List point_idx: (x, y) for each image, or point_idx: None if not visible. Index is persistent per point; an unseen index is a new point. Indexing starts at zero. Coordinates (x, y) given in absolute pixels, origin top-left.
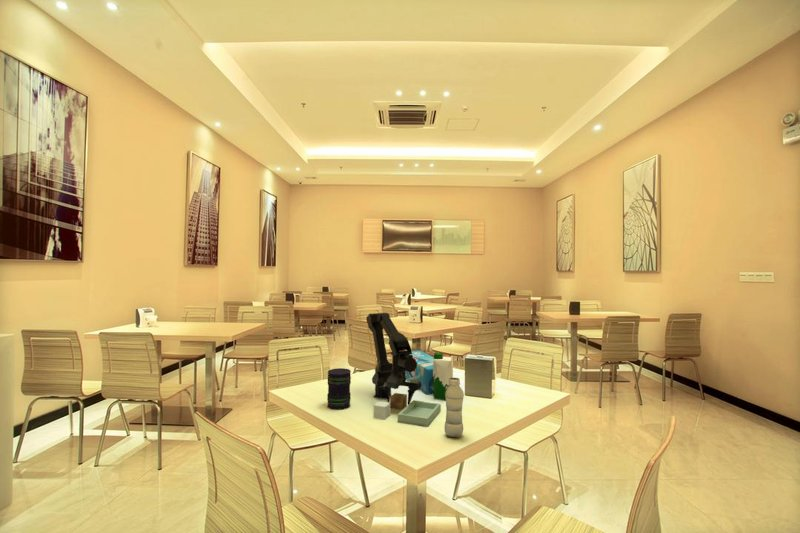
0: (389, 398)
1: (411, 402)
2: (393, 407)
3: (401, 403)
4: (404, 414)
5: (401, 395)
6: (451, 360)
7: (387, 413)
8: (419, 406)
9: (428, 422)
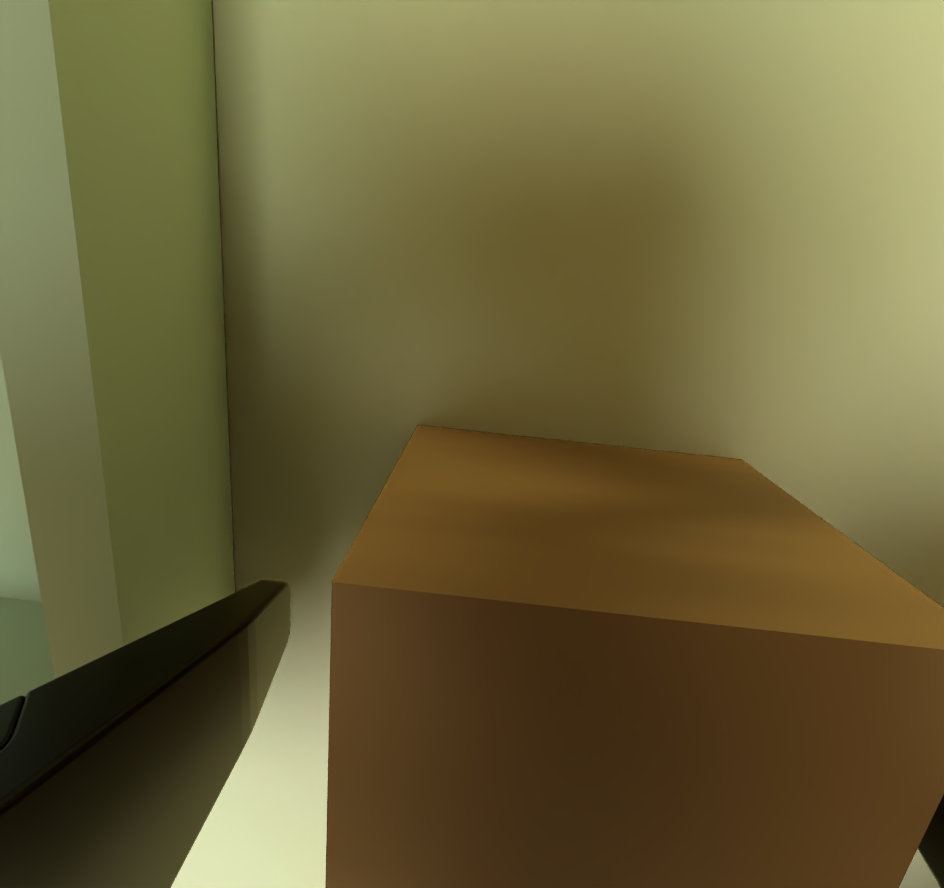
0: None
1: (96, 583)
2: (660, 459)
3: (417, 483)
4: None
5: (490, 881)
6: None
7: None
8: (29, 610)
9: None
